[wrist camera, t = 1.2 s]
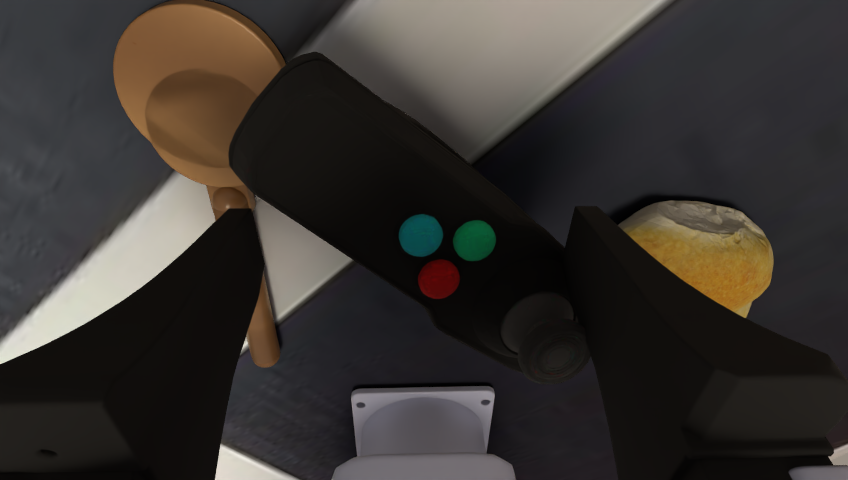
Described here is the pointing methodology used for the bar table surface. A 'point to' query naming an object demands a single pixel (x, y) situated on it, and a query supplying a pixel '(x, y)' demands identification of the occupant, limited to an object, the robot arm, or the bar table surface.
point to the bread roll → (706, 249)
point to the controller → (411, 216)
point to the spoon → (200, 106)
